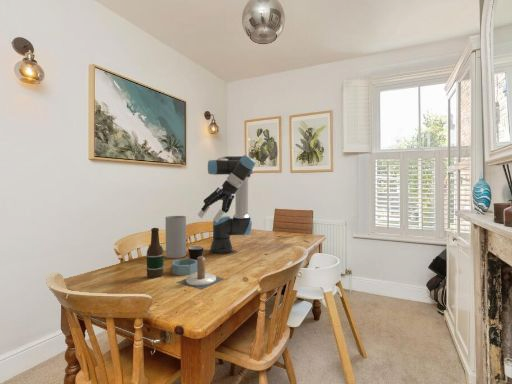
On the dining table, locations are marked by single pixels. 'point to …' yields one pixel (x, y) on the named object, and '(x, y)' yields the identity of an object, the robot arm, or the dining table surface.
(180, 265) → the bowl
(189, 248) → the coffee mug
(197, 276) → the lid
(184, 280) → the mat
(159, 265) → the beer bottle
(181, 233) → the cylinder vase
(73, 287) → the dining table surface
